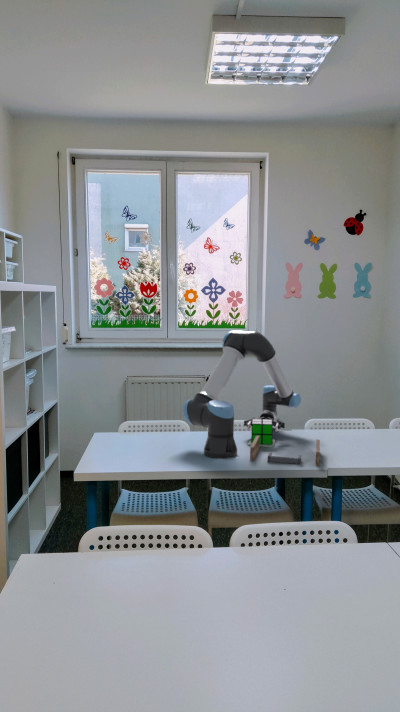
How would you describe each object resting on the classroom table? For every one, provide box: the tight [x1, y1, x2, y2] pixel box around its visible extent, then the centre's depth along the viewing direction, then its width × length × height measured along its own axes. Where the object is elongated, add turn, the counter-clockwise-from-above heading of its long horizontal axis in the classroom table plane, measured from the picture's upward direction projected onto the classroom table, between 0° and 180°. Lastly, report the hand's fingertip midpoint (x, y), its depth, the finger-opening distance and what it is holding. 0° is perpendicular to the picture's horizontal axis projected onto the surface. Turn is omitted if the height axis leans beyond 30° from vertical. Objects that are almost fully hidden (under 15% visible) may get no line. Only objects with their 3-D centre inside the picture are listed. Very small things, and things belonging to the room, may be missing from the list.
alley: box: [249, 435, 321, 467], centre depth 222 cm, size 29×20×6 cm
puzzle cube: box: [250, 418, 274, 445], centre depth 243 cm, size 10×10×10 cm
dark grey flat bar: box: [266, 452, 302, 466], centre depth 215 cm, size 14×6×2 cm, turn 76°
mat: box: [247, 438, 276, 448], centre depth 244 cm, size 12×12×1 cm
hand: (262, 428), depth 241 cm, fingers open, 13 cm apart
